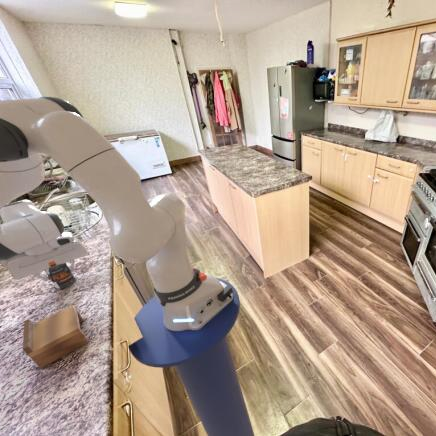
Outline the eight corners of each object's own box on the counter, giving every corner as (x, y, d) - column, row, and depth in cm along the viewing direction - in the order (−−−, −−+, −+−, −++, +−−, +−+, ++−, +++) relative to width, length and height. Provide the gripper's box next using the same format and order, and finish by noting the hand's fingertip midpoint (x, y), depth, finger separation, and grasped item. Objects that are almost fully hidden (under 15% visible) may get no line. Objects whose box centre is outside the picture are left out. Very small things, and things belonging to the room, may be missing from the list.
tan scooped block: (83, 318, 74) (70, 300, 70) (88, 342, 66) (75, 323, 62) (40, 339, 68) (24, 321, 64) (40, 368, 60) (22, 349, 56)
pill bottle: (59, 291, 86) (42, 266, 81) (53, 285, 89) (37, 261, 84) (78, 281, 91) (63, 257, 85) (72, 276, 94) (58, 253, 88)
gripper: (-5, 262, 73) (21, 294, 80) (77, 235, 86) (94, 265, 92) (-2, 254, 77) (22, 285, 84) (76, 230, 90) (92, 259, 96)
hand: (60, 274), depth 88 cm, fingers closed on pill bottle, 6 cm apart
